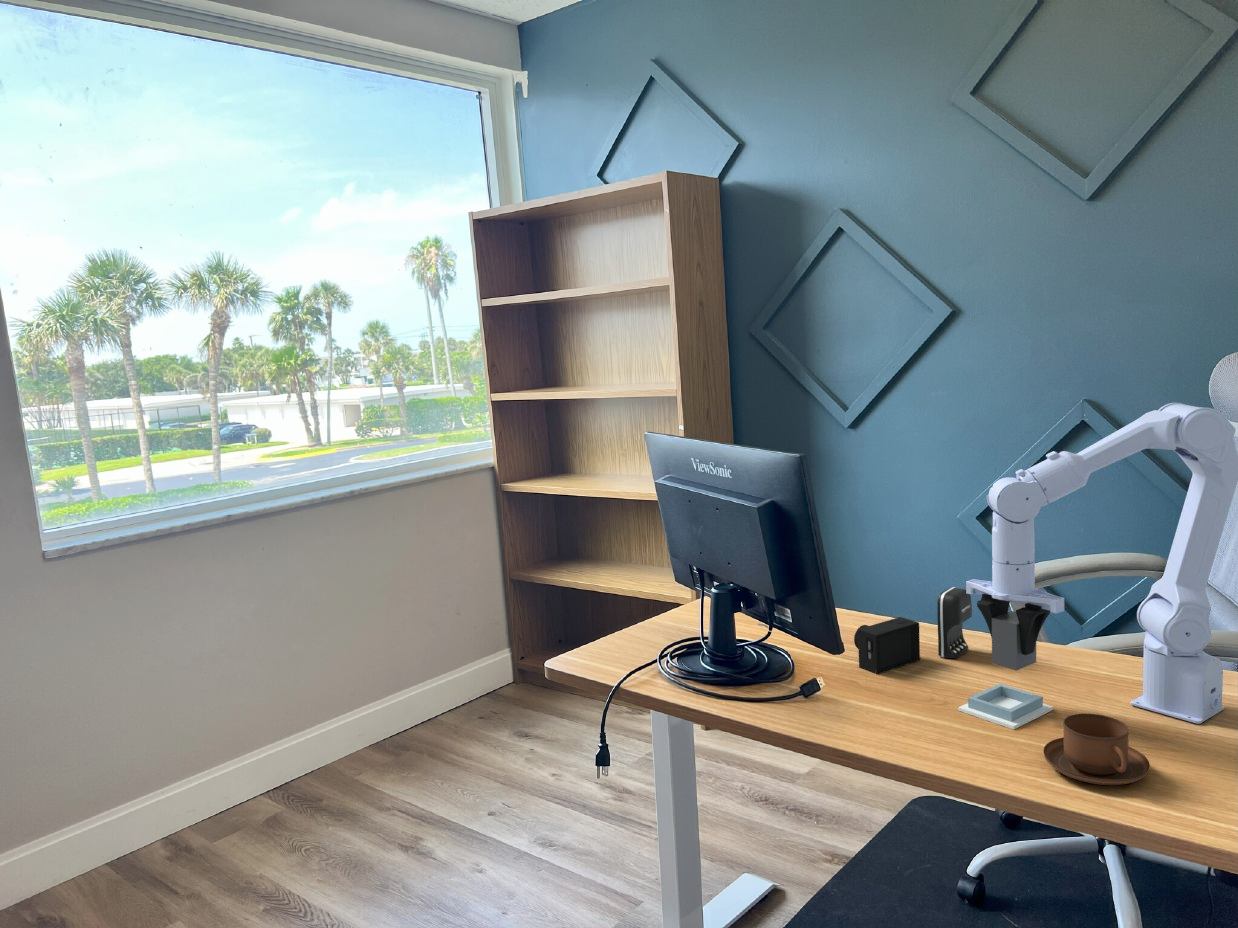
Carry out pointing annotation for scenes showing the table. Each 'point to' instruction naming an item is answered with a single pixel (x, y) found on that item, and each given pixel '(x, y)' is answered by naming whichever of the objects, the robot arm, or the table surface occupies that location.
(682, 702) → the table surface
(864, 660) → the digital camera
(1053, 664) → the table surface
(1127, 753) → the cup and saucer
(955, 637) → the battery charger
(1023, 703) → the socket dock
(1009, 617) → the plug
